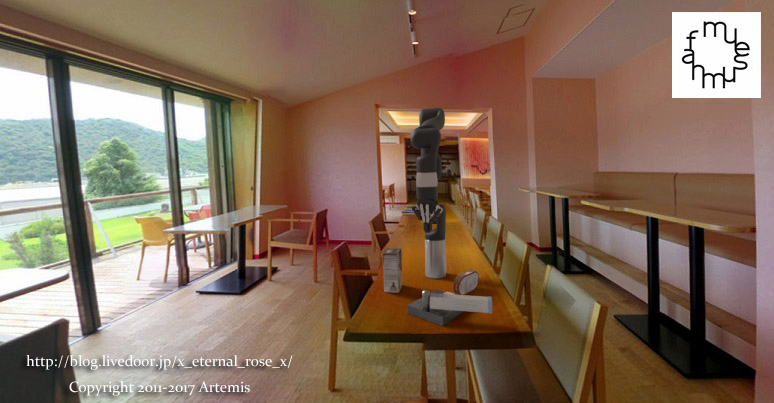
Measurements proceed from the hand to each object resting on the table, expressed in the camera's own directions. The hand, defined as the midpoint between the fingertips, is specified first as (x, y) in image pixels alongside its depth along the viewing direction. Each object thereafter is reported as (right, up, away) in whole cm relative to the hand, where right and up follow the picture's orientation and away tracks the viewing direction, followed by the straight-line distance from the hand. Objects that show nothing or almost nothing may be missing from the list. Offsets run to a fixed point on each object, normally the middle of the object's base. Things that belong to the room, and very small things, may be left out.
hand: (427, 232), depth 118 cm
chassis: (+3, -27, -5) cm, 27 cm away
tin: (+17, -25, +10) cm, 32 cm away
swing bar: (+9, -24, -14) cm, 29 cm away
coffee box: (-12, -25, +17) cm, 33 cm away
